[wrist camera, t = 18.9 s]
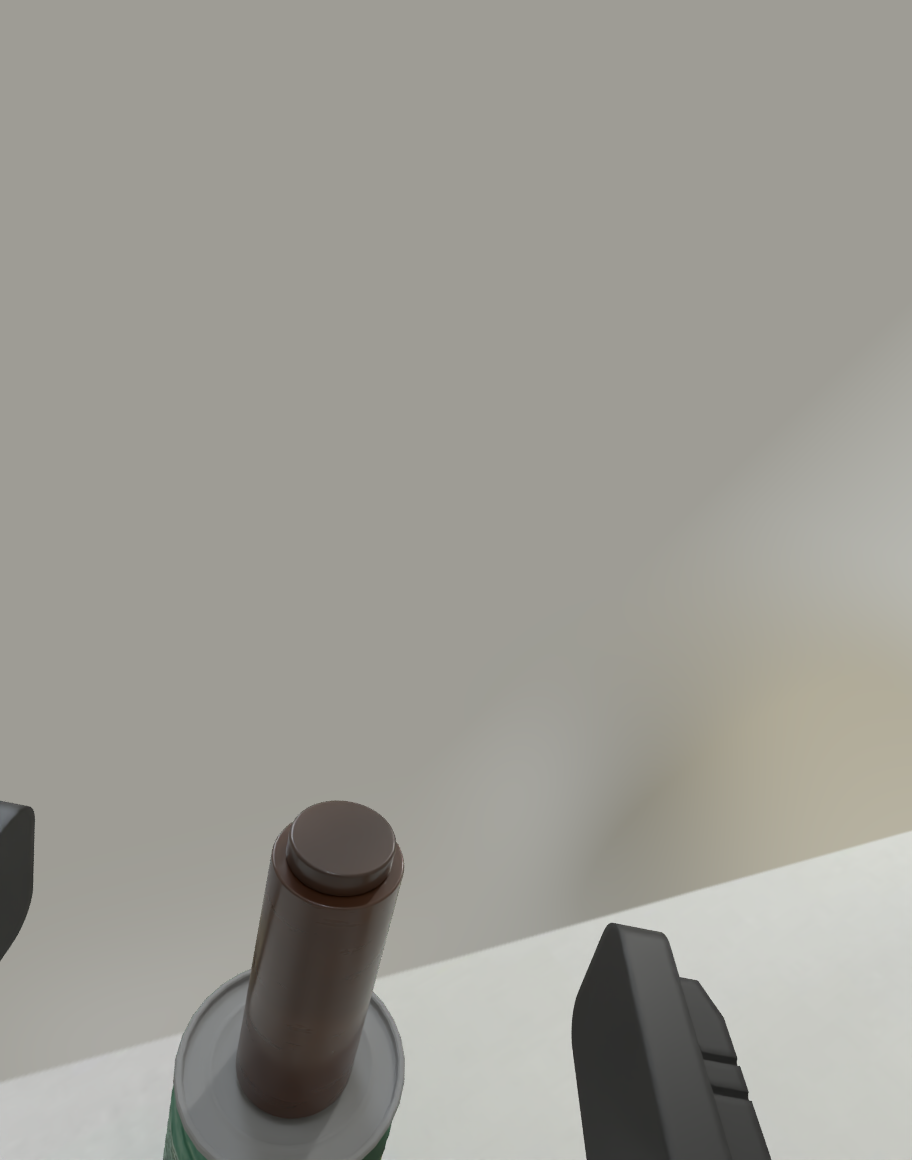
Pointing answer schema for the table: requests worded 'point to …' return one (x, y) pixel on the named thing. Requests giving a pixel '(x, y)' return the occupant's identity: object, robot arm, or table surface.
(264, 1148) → the canned tomato
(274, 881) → the pepper mill
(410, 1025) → the table surface
